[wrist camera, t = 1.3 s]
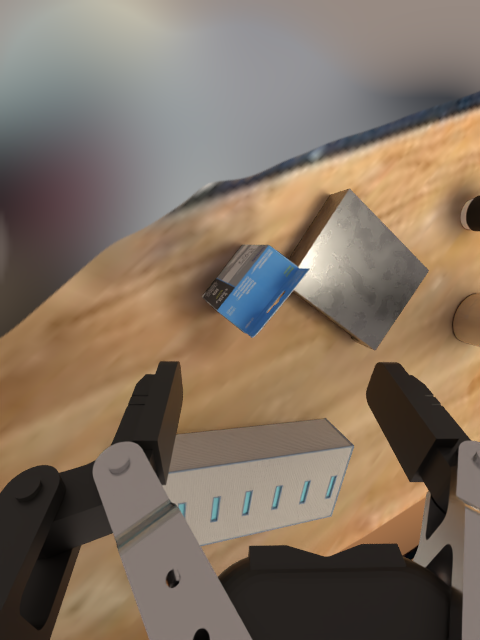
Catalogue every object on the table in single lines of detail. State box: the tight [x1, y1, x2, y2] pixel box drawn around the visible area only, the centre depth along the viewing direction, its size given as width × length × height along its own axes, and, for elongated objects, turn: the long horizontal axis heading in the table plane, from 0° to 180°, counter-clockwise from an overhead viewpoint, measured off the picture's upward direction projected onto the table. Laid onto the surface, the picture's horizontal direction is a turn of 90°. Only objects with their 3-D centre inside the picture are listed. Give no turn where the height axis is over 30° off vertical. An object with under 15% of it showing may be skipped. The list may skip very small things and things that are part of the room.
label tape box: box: [202, 245, 310, 338], centre depth 31 cm, size 9×4×12 cm, turn 140°
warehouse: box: [162, 418, 354, 546], centre depth 41 cm, size 30×14×8 cm, turn 86°
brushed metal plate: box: [289, 189, 429, 350], centre depth 40 cm, size 18×14×4 cm
